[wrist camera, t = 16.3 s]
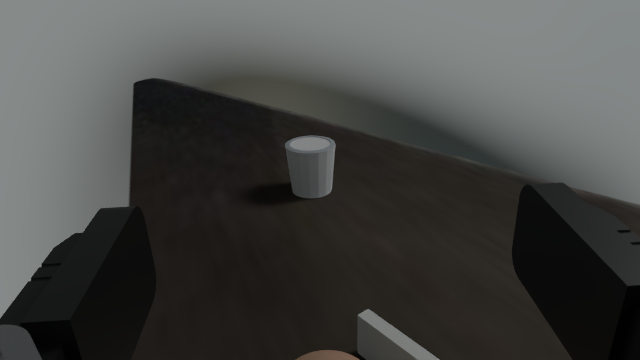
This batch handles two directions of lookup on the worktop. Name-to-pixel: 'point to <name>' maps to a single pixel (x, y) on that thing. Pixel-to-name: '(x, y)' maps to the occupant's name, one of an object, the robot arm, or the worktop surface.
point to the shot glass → (311, 165)
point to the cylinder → (327, 355)
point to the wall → (386, 341)
